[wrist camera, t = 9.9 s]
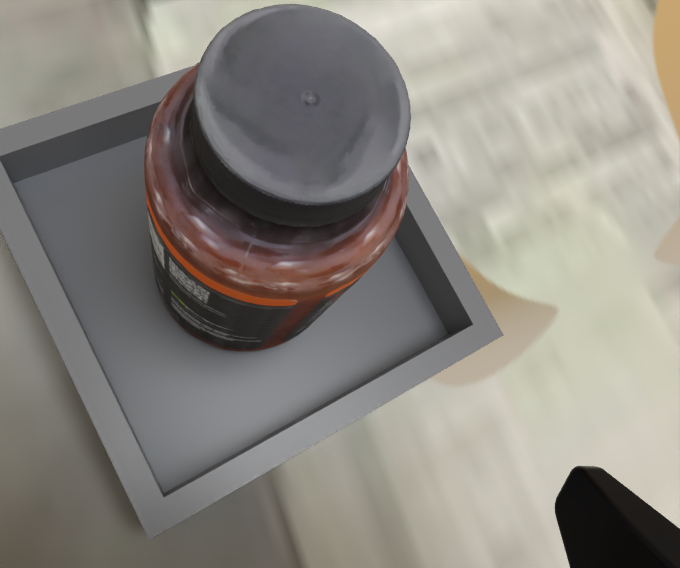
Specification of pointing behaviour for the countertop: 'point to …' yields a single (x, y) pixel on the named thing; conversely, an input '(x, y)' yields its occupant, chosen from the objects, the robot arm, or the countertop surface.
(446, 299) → the bin
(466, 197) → the countertop surface
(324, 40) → the supplement bottle
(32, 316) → the countertop surface
